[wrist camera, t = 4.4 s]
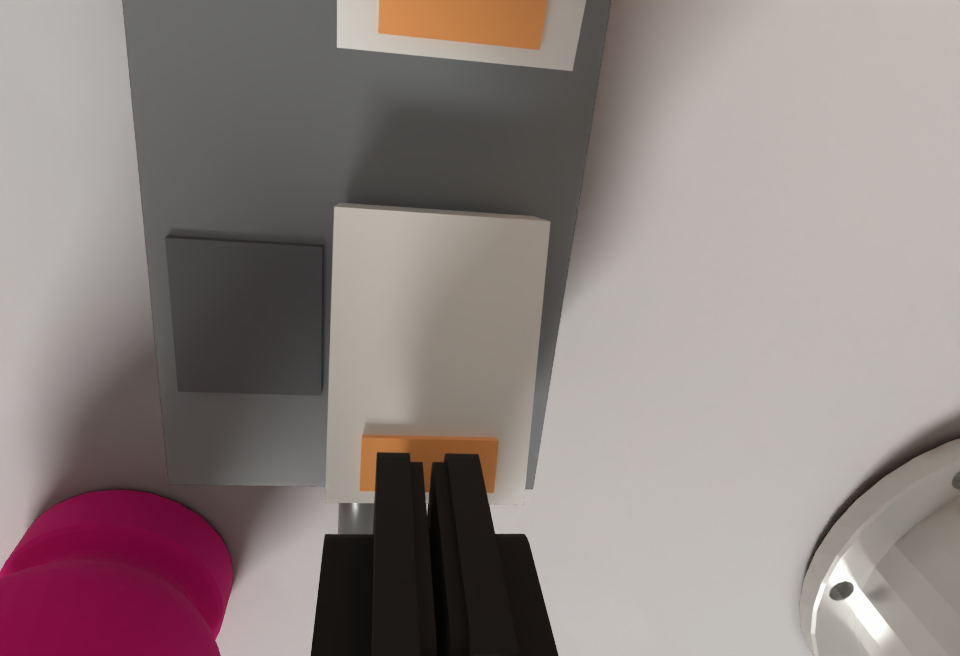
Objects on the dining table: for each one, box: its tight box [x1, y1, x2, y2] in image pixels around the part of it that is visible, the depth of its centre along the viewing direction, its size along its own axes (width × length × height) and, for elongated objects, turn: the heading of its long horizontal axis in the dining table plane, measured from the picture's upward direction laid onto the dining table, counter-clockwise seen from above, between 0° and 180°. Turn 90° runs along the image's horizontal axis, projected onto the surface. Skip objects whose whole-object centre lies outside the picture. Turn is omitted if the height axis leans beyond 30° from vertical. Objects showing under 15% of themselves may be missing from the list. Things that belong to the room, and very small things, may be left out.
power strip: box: [122, 0, 611, 534], centre depth 14 cm, size 8×30×6 cm, turn 174°
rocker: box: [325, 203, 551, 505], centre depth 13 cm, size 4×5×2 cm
